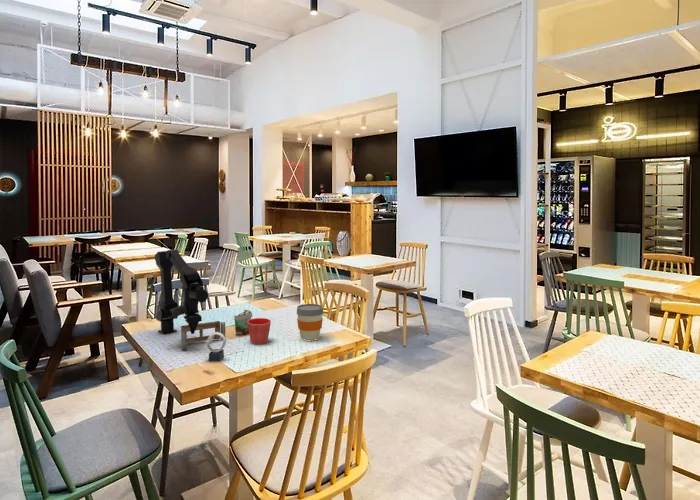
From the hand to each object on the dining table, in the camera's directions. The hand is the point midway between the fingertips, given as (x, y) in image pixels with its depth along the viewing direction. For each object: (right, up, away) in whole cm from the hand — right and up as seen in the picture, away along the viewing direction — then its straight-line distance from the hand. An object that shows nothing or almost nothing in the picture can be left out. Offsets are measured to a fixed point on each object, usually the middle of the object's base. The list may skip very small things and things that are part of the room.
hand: (192, 333), depth 207 cm
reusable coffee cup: (+52, -5, +11) cm, 53 cm away
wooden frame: (+3, -4, +2) cm, 6 cm away
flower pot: (+29, -5, +5) cm, 30 cm away
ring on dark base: (+16, -8, -18) cm, 25 cm away
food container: (+20, -3, +17) cm, 27 cm away
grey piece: (+6, -5, 0) cm, 8 cm away
